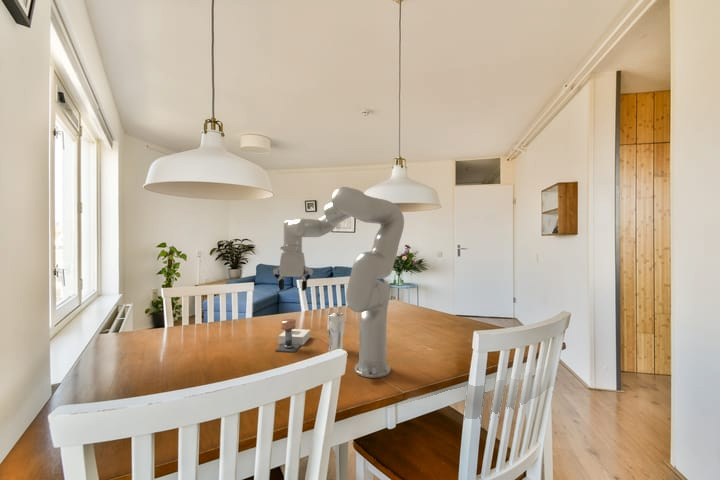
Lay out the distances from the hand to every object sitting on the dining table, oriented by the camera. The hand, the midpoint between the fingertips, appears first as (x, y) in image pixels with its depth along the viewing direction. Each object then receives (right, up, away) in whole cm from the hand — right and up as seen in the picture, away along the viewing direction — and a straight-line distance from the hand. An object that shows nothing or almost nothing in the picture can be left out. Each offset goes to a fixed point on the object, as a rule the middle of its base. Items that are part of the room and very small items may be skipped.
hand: (292, 290), depth 131 cm
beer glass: (+18, -25, -2) cm, 31 cm away
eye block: (-1, -24, +10) cm, 27 cm away
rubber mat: (-2, -24, 0) cm, 25 cm away
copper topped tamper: (-2, -24, 0) cm, 24 cm away
